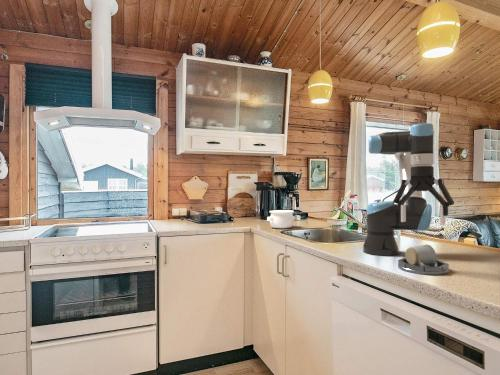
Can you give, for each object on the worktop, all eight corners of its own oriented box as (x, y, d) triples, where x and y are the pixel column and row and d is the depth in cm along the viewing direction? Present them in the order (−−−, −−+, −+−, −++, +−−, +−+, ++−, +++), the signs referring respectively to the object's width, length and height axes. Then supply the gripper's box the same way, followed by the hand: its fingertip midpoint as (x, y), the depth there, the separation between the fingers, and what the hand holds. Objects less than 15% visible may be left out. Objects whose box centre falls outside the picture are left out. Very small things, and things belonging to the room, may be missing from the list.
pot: (273, 230, 223) (272, 212, 223) (262, 227, 239) (262, 210, 239) (301, 228, 231) (300, 211, 231) (289, 225, 247) (289, 209, 247)
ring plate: (390, 268, 121) (390, 262, 121) (408, 261, 132) (408, 255, 132) (439, 278, 108) (439, 270, 108) (454, 268, 120) (454, 261, 120)
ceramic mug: (403, 263, 123) (403, 243, 123) (422, 262, 125) (422, 242, 125) (423, 271, 113) (423, 249, 113) (443, 270, 115) (444, 248, 114)
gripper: (384, 167, 126) (384, 221, 127) (457, 164, 108) (457, 227, 109) (392, 167, 131) (392, 219, 132) (464, 164, 113) (464, 225, 114)
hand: (422, 223), depth 120 cm, fingers open, 13 cm apart
